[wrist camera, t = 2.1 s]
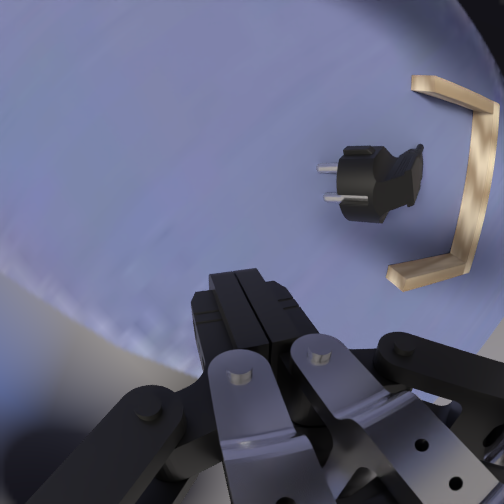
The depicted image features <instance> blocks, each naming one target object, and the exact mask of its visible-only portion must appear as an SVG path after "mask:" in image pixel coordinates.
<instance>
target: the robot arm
mask: <svg viewBox="0 0 504 504" xmlns="http://www.w3.org/2000/svg"><path fill="white" fill-rule="evenodd" d="M191 308H192V316H193V324H194V332H195V340H196V344H197V348H198V352H199V357H200V361H201V365H202V369H203V373H202V375H201V377H200V378H199V379H198V380H197V381H196V382H195V383H193V384H192V385H190V386H188V387H187V388H184V389H182V390H180V391H177V392H173V391H172V390H170V389H168V388H165V387H163V386H157V385H146V386H141V387H138V388H135V389H133V390H131V391H130V392H128V393H127V394H126V395H125V396H123V397H122V399H121V400H120V401H119V402H118V403H117V404H116V405H115V406H114V407H113V409H112V410H111V411H110V412H109V413H108V414H107V415H106V416H105V417H104V418H103V419H102V420H101V422H100V423H99V424H98V425H97V426H96V427H95V428H94V429H93V430H92V432H91V433H90V434H89V435H88V436H87V437H86V438H85V439H84V440H83V441H82V442H81V443H80V445H79V446H78V447H77V448H76V449H75V450H74V451H73V452H72V453H71V454H70V456H69V457H68V458H67V459H66V460H65V461H64V462H63V463H62V464H61V465H60V466H59V467H58V469H57V470H56V471H55V472H54V473H53V474H52V475H51V476H50V477H49V478H48V479H47V480H46V482H45V483H44V484H43V485H42V486H41V487H40V488H39V489H38V490H37V491H36V492H35V494H34V495H33V496H32V497H31V498H30V499H29V500H28V501H27V502H26V503H25V504H181V502H182V501H183V499H184V497H185V496H186V494H187V493H188V491H189V490H190V488H191V486H192V485H193V483H194V482H195V480H196V479H197V477H198V475H199V473H200V472H202V471H204V470H206V469H208V468H210V467H212V466H214V465H216V464H217V463H219V462H221V461H222V465H223V470H224V474H225V479H226V484H227V488H228V493H229V497H230V502H231V504H504V363H502V362H498V361H495V360H492V359H489V358H485V357H482V356H478V355H475V354H472V353H469V352H466V351H462V350H459V349H456V348H453V347H449V346H446V345H443V344H440V343H437V342H434V341H430V340H427V339H424V338H421V337H418V336H415V335H412V334H408V333H404V332H391V333H388V334H386V335H384V336H383V337H381V339H380V340H379V343H378V346H377V349H348V348H347V347H346V346H345V345H344V344H343V343H342V342H341V341H340V340H338V339H336V338H334V337H332V336H329V335H325V334H320V333H319V332H318V330H317V329H316V328H315V326H314V325H313V324H312V322H311V321H310V320H309V318H308V317H307V316H306V314H305V313H304V312H303V310H302V309H301V307H299V305H298V303H297V302H296V301H295V299H293V297H292V295H291V294H290V293H289V291H288V290H287V289H286V288H285V287H284V286H282V285H280V284H279V283H277V282H275V281H269V282H265V280H264V279H263V277H262V276H261V274H260V273H259V271H258V270H257V269H256V268H253V269H245V270H238V271H233V272H232V271H231V272H223V273H216V274H209V290H207V291H200V292H195V294H194V296H193V299H192V301H191ZM413 388H414V389H417V390H421V391H424V392H427V393H430V394H433V395H436V396H439V397H443V398H446V399H449V400H452V402H451V403H450V404H448V405H445V406H438V405H435V404H432V403H429V402H426V401H423V400H421V399H420V398H419V397H418V396H416V395H415V394H414V393H412V392H411V391H412V389H413Z"/></svg>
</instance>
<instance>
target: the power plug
mask: <svg viewBox="0 0 504 504" xmlns="http://www.w3.org/2000/svg"><path fill="white" fill-rule="evenodd" d="M423 149H424V147H423V145H422V144H419V145H418V146H417V148H416V149H410V150H408V151H406V152H405V153H403V154H401V155H400V156H399V157H398V158H396V157H394V156H392V155H391V154H390V153H389V152H388V151H387V149H386V148H385V147H384V146H347V147H346V148H345V149H344V150H343V152H344V155H343V156H342V157H341V158H340V159H339V162H338V163H320V164H318V165H317V167H316V170H317V171H318V172H319V173H337V193H325V194H324V195H323V200H324V201H325V202H332V203H340V204H339V205H340V209H341V211H342V213H343V215H344V217H345V218H346V219H347V220H349V221H359V222H371V223H383V221H384V220H385V218H386V216H387V214H388V212H389V211H390V210H393V209H396V208H398V207H401V206H404V205H406V204H407V207H410V206H413V205H414V203H415V200H416V198H417V195H418V192H419V190H420V183H421V179H422V172H423V156H422V151H423Z"/></svg>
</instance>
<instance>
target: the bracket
mask: <svg viewBox="0 0 504 504" xmlns="http://www.w3.org/2000/svg"><path fill="white" fill-rule="evenodd" d="M411 90H412V91H416V92H420V93H423V94H426V95H430V96H433V97H436V98H439V99H442V100H445V101H448V102H451V103H454V104H457V105H460V106H463V107H466V108H468V109H471V110H473V121H472V134H471V144H470V152H469V160H468V168H467V174H466V181H465V187H464V192H463V198H462V203H461V208H460V213H459V218H458V222H457V227H456V231H455V235H454V239H453V243H452V247H451V251H450V253H448V254H443V255H438V256H433V257H429V258H424V259H419V260H414V261H409V262H404V263H399V264H393V265H389V266H388V271H387V275H386V278H387V279H388V280H389V281H390V282H392V283H393V284H394V285H395V286H396V287H398V288H399V289H400V290H401V291H402V292H404V291H408V290H412V289H415V288H419V287H422V286H426V285H429V284H433V283H436V282H440V281H443V280H446V279H450V278H453V277H456V276H460V275H463V274H466V273H469V271H470V268H471V265H472V262H473V258H474V255H475V252H476V248H477V244H478V241H479V237H480V233H481V229H482V225H483V221H484V217H485V212H486V208H487V203H488V198H489V193H490V187H491V181H492V175H493V169H494V162H495V154H496V146H497V136H498V125H499V108H500V104H498V103H496V102H494V101H492V100H490V99H488V98H486V97H484V96H482V95H479V94H477V93H475V92H473V91H471V90H468V89H466V88H464V87H462V86H459V85H457V84H454V83H452V82H450V81H447V80H445V79H442V78H439V77H437V76H426V75H412V84H411Z"/></svg>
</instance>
